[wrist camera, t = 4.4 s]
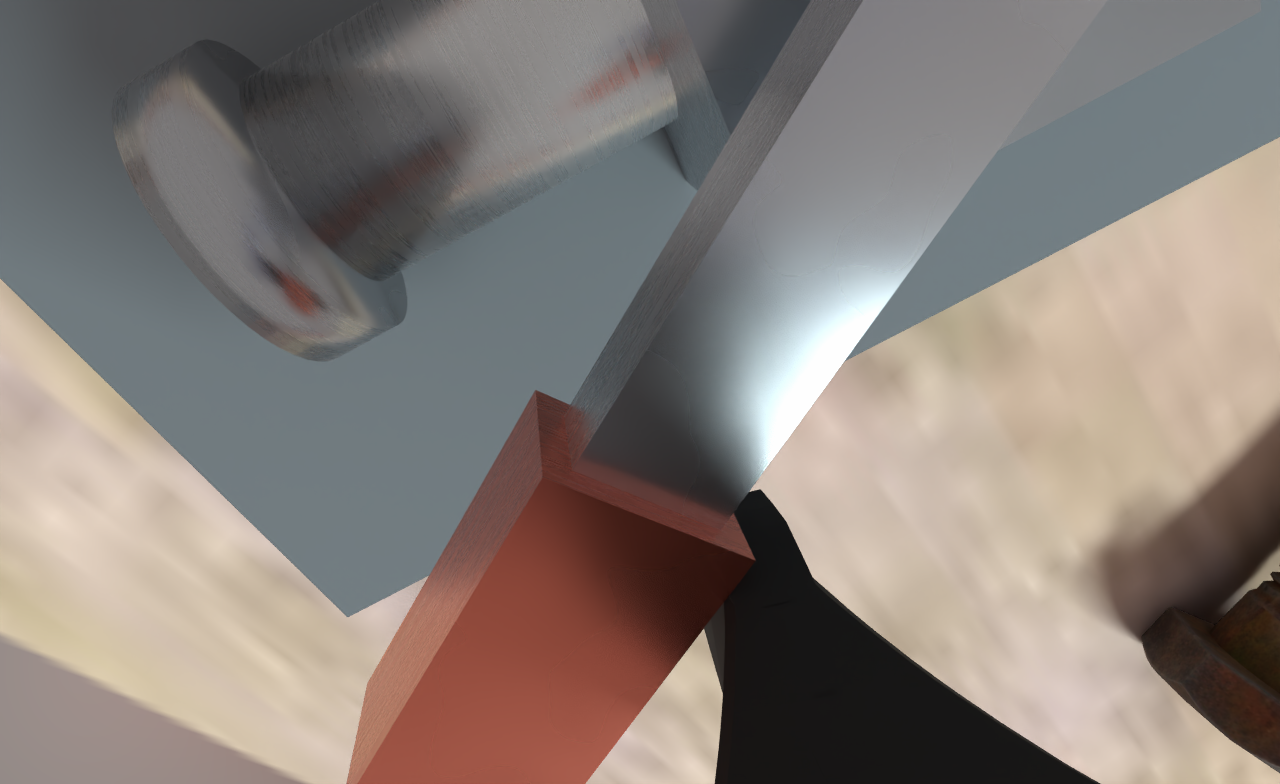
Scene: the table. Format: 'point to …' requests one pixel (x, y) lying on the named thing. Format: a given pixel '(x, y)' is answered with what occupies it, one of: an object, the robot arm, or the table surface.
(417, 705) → the valve lever
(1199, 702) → the bolt
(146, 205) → the valve manifold
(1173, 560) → the table surface
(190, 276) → the mounting plate
